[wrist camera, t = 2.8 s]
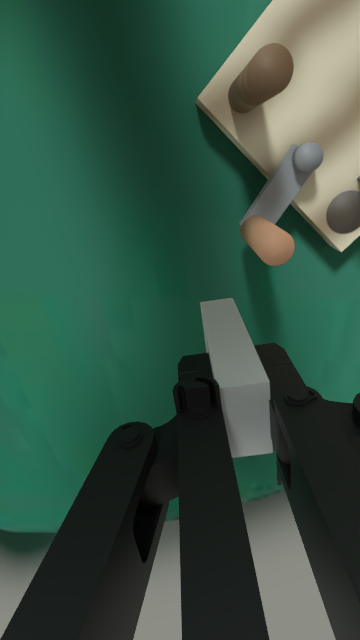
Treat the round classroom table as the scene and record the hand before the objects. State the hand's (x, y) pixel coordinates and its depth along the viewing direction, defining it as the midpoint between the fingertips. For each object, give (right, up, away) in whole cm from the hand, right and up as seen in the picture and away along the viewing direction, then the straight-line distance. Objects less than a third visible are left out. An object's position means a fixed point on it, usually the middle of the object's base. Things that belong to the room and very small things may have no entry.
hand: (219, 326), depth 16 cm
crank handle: (+6, +11, +13) cm, 18 cm away
